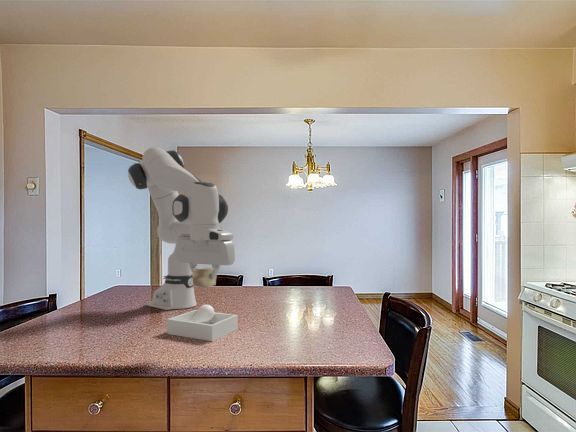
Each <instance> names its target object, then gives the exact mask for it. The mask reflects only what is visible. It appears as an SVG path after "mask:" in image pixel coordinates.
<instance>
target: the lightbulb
mask: <svg viewBox="0 0 576 432" xmlns="http://www.w3.org/2000/svg"><path fill="white" fill-rule="evenodd" d="M197 310H198V311H197V313H196V314H195V316H194V317H193V318H192V319H191V320H190V322H197V323H202V322H208V321H210V320H211V319H212V318H213V317H214V312H215V309H214V308H213V306H212V305H210V304H203V305H201V306H200V307H199V308H198V309H197Z"/></svg>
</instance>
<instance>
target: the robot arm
mask: <svg viewBox="0 0 576 432" xmlns="http://www.w3.org/2000/svg"><path fill="white" fill-rule="evenodd" d="M127 172H128V173H127V174H128V175H127V176H128V179H129V182H130V183H131V185H132V186H134V187H135V189H138V190H146V189H148V193H149V195H150V198H151V200H152V202H153V204H154V207H155V208H156V209H155V210H156V211H157V214H158V219H159V223H158V226H157V228H156V236H157V237H158V239H159V240H160V241H162V242H164V243H167V244H171V245H172V244H174V245H175V247H174V250H173V252H172V253H171V254H170V255H169V257H168V258H167V275H164V276H163V278H162V279H163V280H164V283H163V284H161V286H159V287H158V288H157V289H156V290H154V291H153V293H152V300H151V301H149V302H147V304H146V305H147V307H150V308H151V307H152V308H155V309H161V310H164V311H169V310H181V309H188V308H193V307H195V306H197V305H198V304H197V301H196V296H195V288H194V287H195V286H193V270H194V269H198V268H197V266H198V265H211V268H212V269H213V271H212V273H210V274H209V276H210V277H209V279H213V280H214V279H216V280H217V277H218V272H219V270H220V268H221V266H231V265H233V264H234V263H235V262H236V261H235V260H236V252H235V243H234V242H233V241H232V240H233V238H234V233H233V232H232V231H231V232H230V231H228V230H225V229H223V228H221V227H220V223H222V222H223V221H224V220H225V218H227V216H228V213H229V206H228V202H227V201H226V199H225V198H224V196H223V195H221V194H219V190H218V188H217V185H216V184H214V183H212V182H205V181H202V180H201V179H199V177H197V176H196V175H194V174H193V173H191V172H190V171H189V170H187V169H185V164H184V159H183V158H182V156H181V155H180V154H179V153H178V152H177V151H176V150H172V149H171V150H168V151H166V150H164V149H163V148H161V147H159V146H153V147H149V148H148V149H146V150H145V151H144V152H143V155H142V157H141V160H140V161H138V162H134V163H133V164H132V165H130V166H129V168H128V170H127ZM179 192H180V193H181V194H179Z"/></svg>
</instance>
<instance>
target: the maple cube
mask: <svg viewBox="0 0 576 432" xmlns="http://www.w3.org/2000/svg"><path fill="white" fill-rule="evenodd" d="M213 269H214V268H212V267H211V268H210V267H209V268H208V267H200V268H197V269H194V270H193V287H200V288H208V287H213V286H216V284H217V278H216V279H214V280H213V279H209V277H210V276H209V274H210V273H212V271H213Z"/></svg>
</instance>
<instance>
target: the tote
mask: <svg viewBox="0 0 576 432" xmlns="http://www.w3.org/2000/svg"><path fill="white" fill-rule="evenodd" d="M197 311H198V309H193V310H191V311H188V312H184V313H182V314H178V315H175V316H172V317H169V318H166V334H167V335H173V336H178V337H184V338H190V339H194V340H195V339H196V340H202V341H208V342H214V341H216V340H218V339H220V338H222V337H224V336H227V335H229V334H231V333H232V332H235V331H237V330H238V328H239V327H238V326H239V323H238V321H239V320H238V319H239V317H238V316H239V315H238V314H231V313H224V312H215V311H214V317H213V318H212V319H211V320H210V321H208V322H202V323H197V322H190V320H191V319H192V318H193V317H194V316H195V314H196V313H197Z"/></svg>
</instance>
